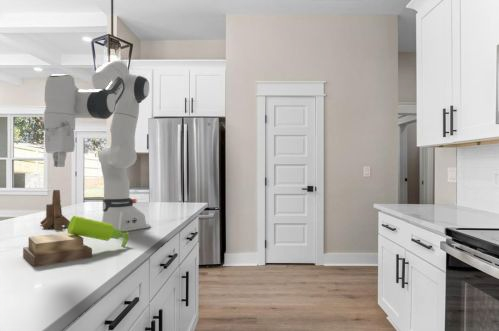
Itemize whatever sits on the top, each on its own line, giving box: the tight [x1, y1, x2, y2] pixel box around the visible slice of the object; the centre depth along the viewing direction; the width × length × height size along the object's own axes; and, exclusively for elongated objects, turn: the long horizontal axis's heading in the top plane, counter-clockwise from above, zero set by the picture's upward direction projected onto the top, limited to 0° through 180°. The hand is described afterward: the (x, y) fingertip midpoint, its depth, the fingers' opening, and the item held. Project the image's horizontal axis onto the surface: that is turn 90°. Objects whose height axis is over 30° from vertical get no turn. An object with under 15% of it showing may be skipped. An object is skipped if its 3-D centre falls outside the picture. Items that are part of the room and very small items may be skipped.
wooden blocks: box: [39, 189, 70, 231], centre depth 165 cm, size 25×12×18 cm, turn 35°
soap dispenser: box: [67, 215, 130, 248], centre depth 119 cm, size 6×7×20 cm
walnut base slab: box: [22, 243, 93, 268], centre depth 110 cm, size 16×16×4 cm
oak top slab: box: [28, 232, 84, 256], centre depth 109 cm, size 13×13×4 cm
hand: (59, 166), depth 110 cm, fingers open, 3 cm apart
